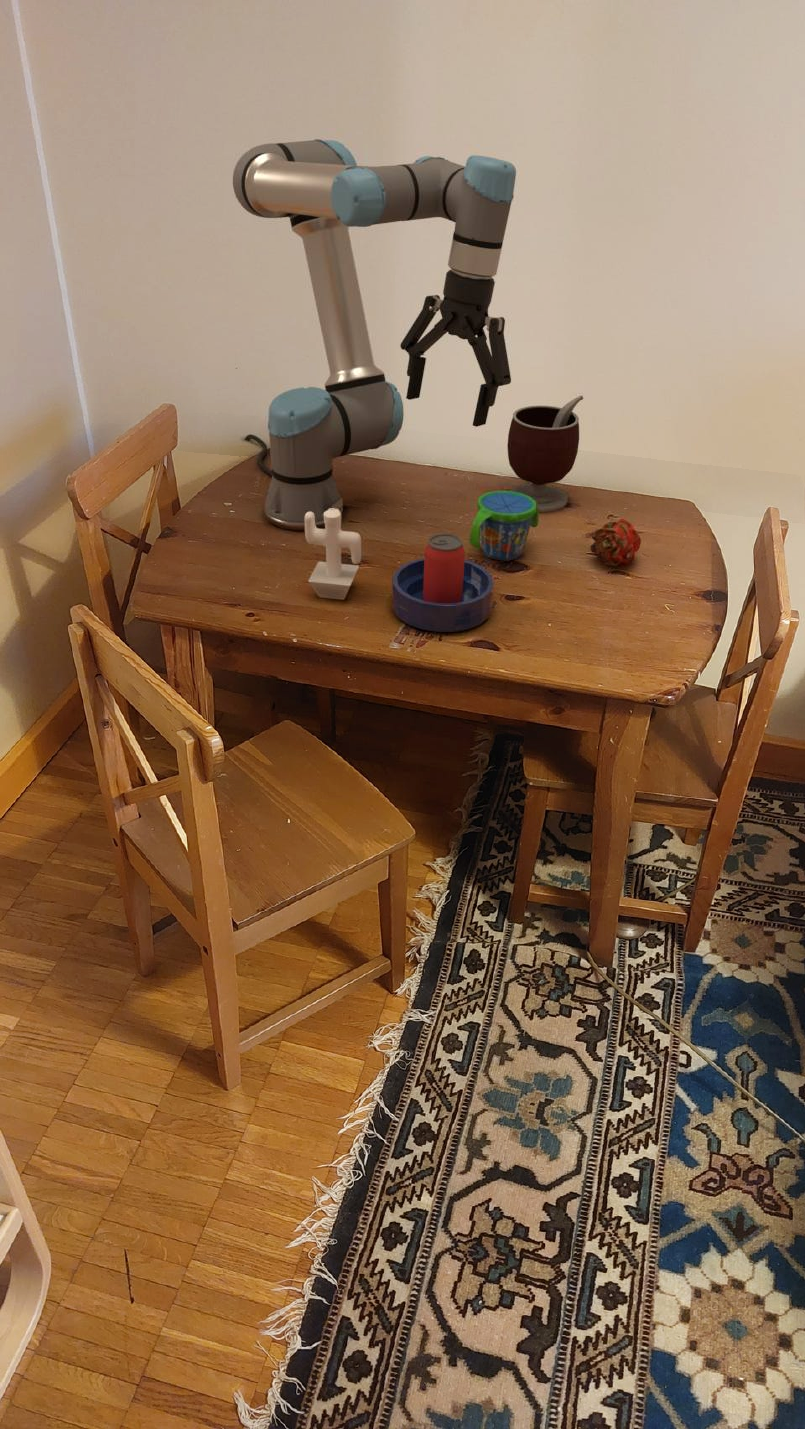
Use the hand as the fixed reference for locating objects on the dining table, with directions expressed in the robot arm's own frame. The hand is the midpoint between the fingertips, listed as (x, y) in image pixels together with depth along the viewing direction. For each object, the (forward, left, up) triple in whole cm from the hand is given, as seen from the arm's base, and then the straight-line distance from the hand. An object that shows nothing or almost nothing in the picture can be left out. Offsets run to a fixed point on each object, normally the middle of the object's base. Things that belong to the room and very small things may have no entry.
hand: (445, 411), depth 164 cm
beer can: (+15, -1, -28) cm, 32 cm away
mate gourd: (-29, +23, -29) cm, 47 cm away
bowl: (+15, -1, -29) cm, 32 cm away
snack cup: (-5, +12, -29) cm, 32 cm away
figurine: (+9, -19, -29) cm, 35 cm away
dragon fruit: (-2, +32, -29) cm, 43 cm away
